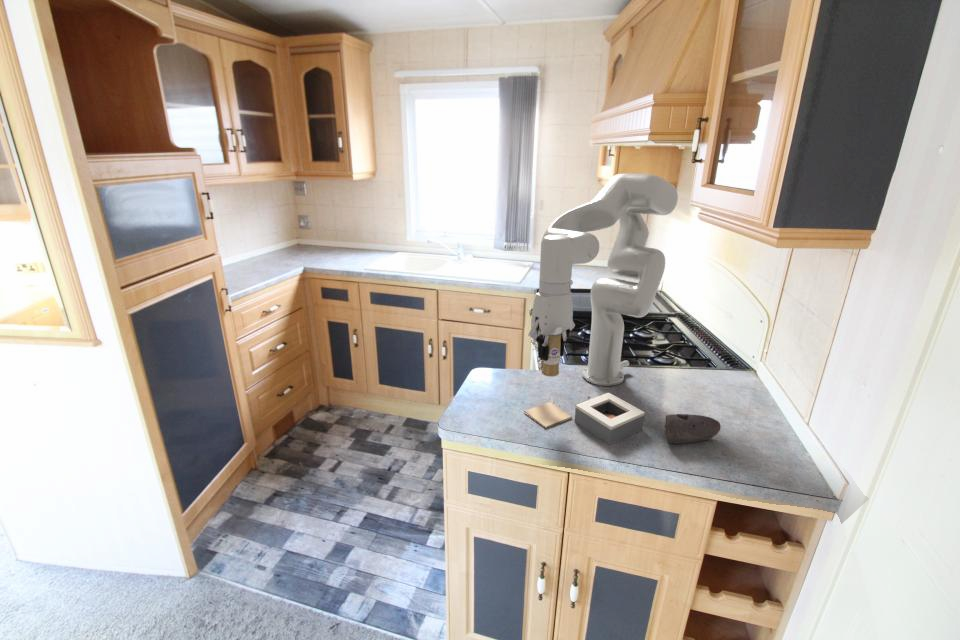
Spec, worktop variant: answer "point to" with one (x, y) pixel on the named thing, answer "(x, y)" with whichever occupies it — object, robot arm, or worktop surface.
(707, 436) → the perforated stone tool
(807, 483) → the worktop surface
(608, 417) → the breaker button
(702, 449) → the worktop surface
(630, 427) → the grey square open box
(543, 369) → the sprinkles bottle
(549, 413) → the coaster
